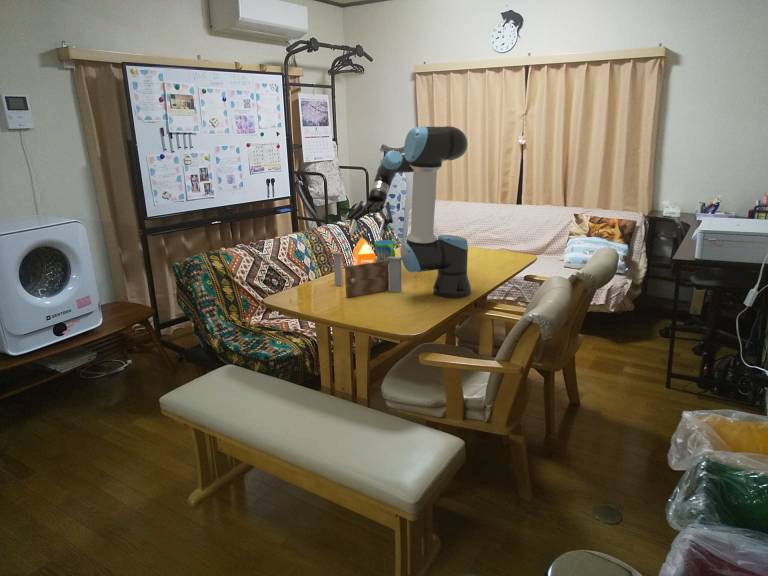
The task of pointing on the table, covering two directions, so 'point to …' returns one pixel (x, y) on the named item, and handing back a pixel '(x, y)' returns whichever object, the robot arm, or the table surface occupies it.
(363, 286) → the gate
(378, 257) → the snack cup
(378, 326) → the table surface
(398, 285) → the grey rectangular posts
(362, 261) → the orange juice
